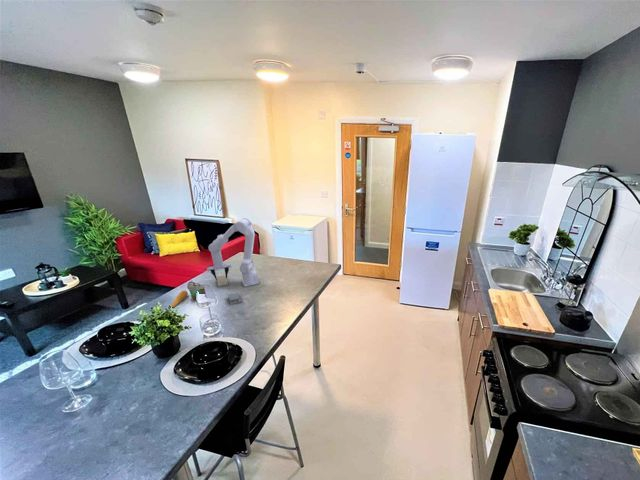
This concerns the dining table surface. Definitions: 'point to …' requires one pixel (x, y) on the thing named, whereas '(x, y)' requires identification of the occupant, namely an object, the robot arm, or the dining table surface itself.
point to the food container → (195, 289)
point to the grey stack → (234, 298)
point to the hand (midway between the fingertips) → (221, 278)
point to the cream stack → (222, 282)
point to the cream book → (221, 277)
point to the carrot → (180, 298)
